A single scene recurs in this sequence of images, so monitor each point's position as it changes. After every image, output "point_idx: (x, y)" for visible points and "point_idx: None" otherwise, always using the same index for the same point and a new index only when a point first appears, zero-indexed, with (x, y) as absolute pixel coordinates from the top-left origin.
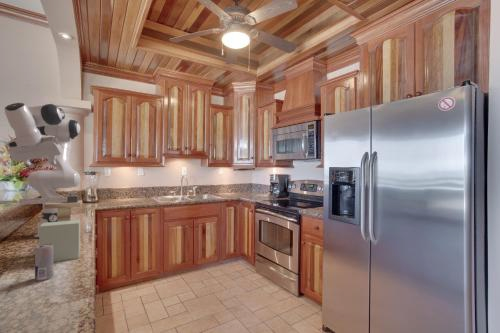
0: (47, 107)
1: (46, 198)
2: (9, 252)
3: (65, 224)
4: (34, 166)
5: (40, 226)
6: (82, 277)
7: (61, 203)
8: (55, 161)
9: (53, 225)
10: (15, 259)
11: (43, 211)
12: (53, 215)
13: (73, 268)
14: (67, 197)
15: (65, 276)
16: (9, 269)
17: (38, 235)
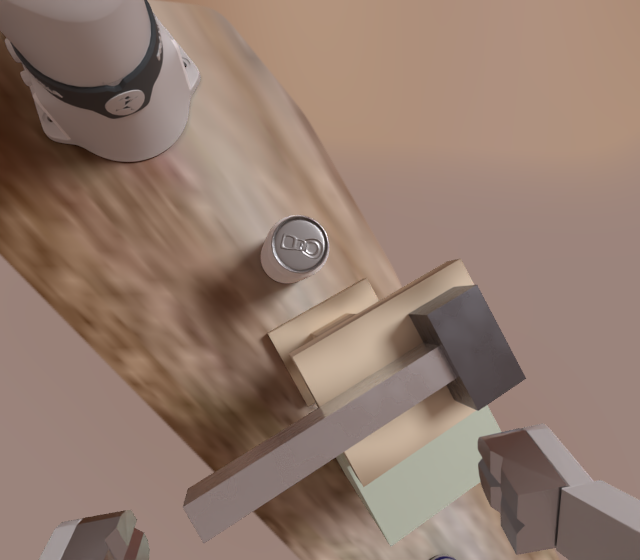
0: None
1: (348, 447)
2: (129, 363)
3: (471, 486)
4: (129, 512)
5: (393, 544)
6: (534, 556)
7: (435, 427)
8: (566, 459)
9: (434, 514)
10: (225, 437)
11: (34, 65)
12: (124, 94)
13: (473, 498)
14: (475, 408)
15: (488, 556)
16: (286, 527)
17: (73, 140)
